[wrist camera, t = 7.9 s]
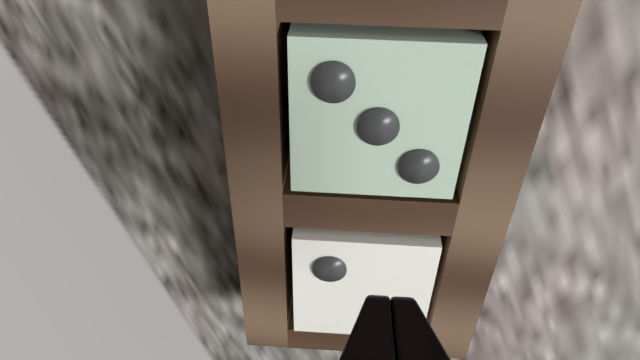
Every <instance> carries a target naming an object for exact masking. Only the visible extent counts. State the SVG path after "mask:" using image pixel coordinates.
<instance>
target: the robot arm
mask: <svg viewBox="0 0 640 360" xmlns="http://www.w3.org/2000/svg"><path fill="white" fill-rule="evenodd" d="M340 360H451V359H450V358H449V356H448V354H447V353H446V351H445V349H444V348H443V346H442V344H441V342H440V341H439V339H438V337H437V336H436V334H435V332H434V330H433V329H432V327H431V325H430V324H429V322H428V320H427V318H426V317H425V315H424V313H423V312H422V310H421V308H420V307H419V305H418V303H417V302H416V300H415V299H414V298H411V297H399V296H394V297H392V298H391V299H390V298H389V297H388V296H383V295H368V296H367V297H366V298H365V301H364V303H363V305H362V308H361V310H360V312H359V315H358V317H357V320H356V322H355V324H354V327H353V329H352V331H351V334H350V336H349V338H348V341H347V343H346V346H345V348H344V350H343V353H342V355H341V357H340Z"/></svg>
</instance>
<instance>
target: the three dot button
mask: <svg viewBox="0 0 640 360" xmlns="http://www.w3.org/2000/svg"><path fill="white" fill-rule="evenodd" d="M487 45H488V44H487V42H486V40H485V38H484V36H483V34H482V32H481V30H472V29H447V28H421V27H396V26H370V25H344V24H319V23H293V22H291V25H290V28H289V32H288V35H287V51H288V93H289V134H290V175H291V191H304V192H323V193H342V194H361V195H380V196H399V197H418V198H437V199H453V195H454V191H455V186H456V182H457V177H458V173H459V168H460V164H461V160H462V155H463V151H464V146H465V142H466V137H467V133H468V129H469V124H470V120H471V115H472V111H473V107H474V102H475V98H476V93H477V89H478V84H479V80H480V76H481V71H482V67H483V62H484V58H485V53H486V49H487Z"/></svg>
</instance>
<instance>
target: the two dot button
mask: <svg viewBox="0 0 640 360" xmlns="http://www.w3.org/2000/svg"><path fill="white" fill-rule="evenodd" d="M441 252H442V243H441V237H440V236H438V235H420V234H402V233H384V232H366V231H348V230H330V229H312V228H293V234H292V270H293V310H294V331H305V332H321V333H336V334H351V331H352V329H353V327H354V324H355V322H356V320H357V317H358V315H359V312H360V310H361V308H362V305H363V303H364V301H365V298H366V297H367V296H368V295H383V296H388V297H389V298H390V299H391V298H392V297H394V296H399V297H411V298H414V299H415V300H416V302H417V303H418V305H419V307H420V308H421V310H422V312H423V313H424V315H425V317H426V318H427V313H428V309H429V304H430V300H431V296H432V291H433V287H434V282H435V278H436V274H437V269H438V265H439V260H440V256H441Z"/></svg>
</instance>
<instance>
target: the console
mask: <svg viewBox="0 0 640 360" xmlns="http://www.w3.org/2000/svg"><path fill="white" fill-rule="evenodd" d="M581 2H582V0H207V8H208V16H209V25H210V33H211V41H212V50H213V58H214V67H215V75H216V84H217V92H218V100H219V109H220V117H221V126H222V134H223V142H224V151H225V159H226V168H227V176H228V185H229V193H230V201H231V210H232V218H233V227H234V235H235V243H236V252H237V260H238V269H239V277H240V286H241V294H242V302H243V311H244V319H245V328H246V336H247V345H261V346H276V347H292V348H307V349H322V350H338V351H343V350H344V348H345V346H346V343H347V341H348V338H349V336H350V334H336V333H321V332H305V331H294V310H293V270H292V234H293V228H312V229H330V230H348V231H366V232H384V233H402V234H420V235H438V236H440V237H441V243H442V252H441V256H440V260H439V265H438V269H437V274H436V278H435V282H434V287H433V291H432V296H431V300H430V304H429V309H428V313H427V320H428V322H429V324H430V325H431V327H432V329H433V330H434V332H435V334H436V336H437V337H438V339H439V341H440V342H441V344H442V346H443V348H444V349H445V351H446V353H447V354H448V356H449V358H460V359H465V358H466V354H467V351H468V348H469V345H470V342H471V339H472V336H473V333H474V330H475V327H476V324H477V321H478V318H479V315H480V312H481V308H482V305H483V302H484V299H485V296H486V293H487V290H488V287H489V284H490V281H491V278H492V275H493V272H494V269H495V266H496V263H497V259H498V256H499V253H500V250H501V247H502V244H503V241H504V238H505V235H506V232H507V229H508V226H509V223H510V220H511V217H512V214H513V210H514V207H515V204H516V201H517V198H518V195H519V192H520V189H521V186H522V183H523V180H524V177H525V174H526V171H527V168H528V164H529V161H530V158H531V155H532V152H533V149H534V146H535V143H536V140H537V137H538V134H539V131H540V128H541V125H542V122H543V119H544V115H545V112H546V109H547V106H548V103H549V100H550V97H551V94H552V91H553V88H554V85H555V82H556V79H557V76H558V73H559V70H560V66H561V63H562V60H563V57H564V54H565V51H566V48H567V45H568V42H569V39H570V36H571V33H572V30H573V27H574V24H575V20H576V17H577V14H578V11H579V8H580V5H581ZM290 22H293V23H319V24H344V25H370V26H396V27H421V28H447V29H472V30H481V32H482V34H483V36H484V38H485V40H486V42H487V44H488V45H487V49H486V53H485V58H484V62H483V67H482V71H481V76H480V80H479V84H478V89H477V93H476V98H475V102H474V107H473V111H472V115H471V120H470V124H469V129H468V133H467V137H466V142H465V146H464V151H463V155H462V160H461V164H460V168H459V173H458V177H457V182H456V186H455V191H454V195H453V199H437V198H418V197H399V196H380V195H361V194H342V193H323V192H304V191H291V175H290V134H289V93H288V51H287V35H288V32H289V28H290Z"/></svg>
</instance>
